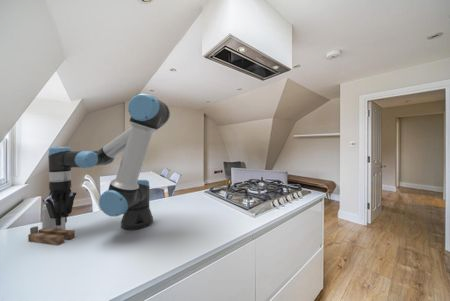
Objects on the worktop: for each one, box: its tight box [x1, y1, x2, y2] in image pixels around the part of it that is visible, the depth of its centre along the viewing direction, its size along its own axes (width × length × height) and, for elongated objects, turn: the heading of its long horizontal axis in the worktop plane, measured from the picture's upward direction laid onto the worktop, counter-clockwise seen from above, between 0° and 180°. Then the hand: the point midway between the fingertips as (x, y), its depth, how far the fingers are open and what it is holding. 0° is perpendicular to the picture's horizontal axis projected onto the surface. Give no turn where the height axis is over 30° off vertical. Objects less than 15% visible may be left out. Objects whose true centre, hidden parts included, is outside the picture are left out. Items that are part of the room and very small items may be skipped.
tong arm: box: [38, 228, 76, 240], centre depth 80 cm, size 16×2×3 cm, turn 82°
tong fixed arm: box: [27, 225, 65, 246], centre depth 77 cm, size 19×4×4 cm, turn 79°
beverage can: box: [41, 203, 57, 229], centre depth 89 cm, size 6×6×12 cm
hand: (61, 231), depth 83 cm, fingers closed
